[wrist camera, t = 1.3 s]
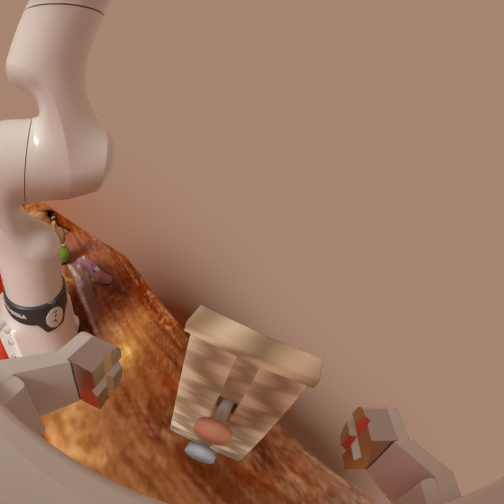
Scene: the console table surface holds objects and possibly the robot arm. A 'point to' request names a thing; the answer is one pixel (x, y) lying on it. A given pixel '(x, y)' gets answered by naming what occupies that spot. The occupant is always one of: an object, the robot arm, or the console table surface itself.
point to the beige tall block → (238, 380)
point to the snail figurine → (61, 242)
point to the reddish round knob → (215, 425)
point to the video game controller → (93, 270)
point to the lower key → (201, 451)
